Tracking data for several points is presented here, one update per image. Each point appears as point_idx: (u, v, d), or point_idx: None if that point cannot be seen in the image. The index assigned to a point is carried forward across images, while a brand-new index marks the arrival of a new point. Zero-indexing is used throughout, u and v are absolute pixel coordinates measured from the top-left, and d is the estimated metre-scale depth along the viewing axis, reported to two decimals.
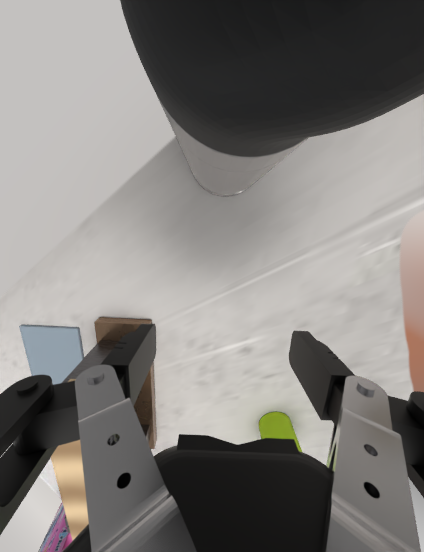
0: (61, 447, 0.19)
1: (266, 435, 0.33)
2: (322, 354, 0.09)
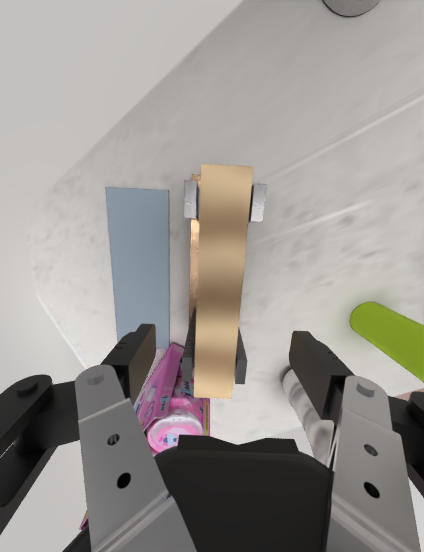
0: (214, 221, 0.16)
1: (369, 318, 0.30)
2: (322, 354, 0.09)
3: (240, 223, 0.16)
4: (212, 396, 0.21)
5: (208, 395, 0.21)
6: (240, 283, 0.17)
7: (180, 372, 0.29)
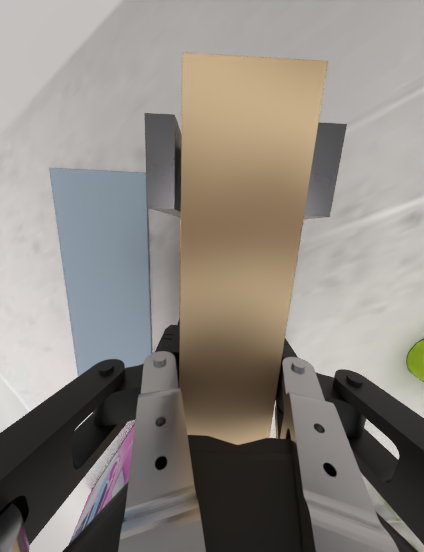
0: (219, 216, 0.06)
1: None
2: None
3: (283, 221, 0.06)
4: None
5: None
6: (277, 357, 0.08)
7: None
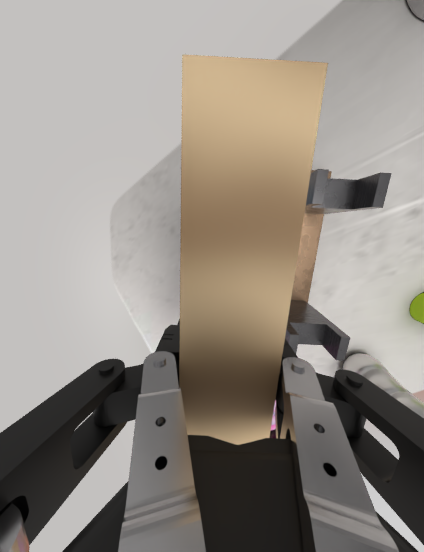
0: (219, 217, 0.06)
1: None
2: None
3: (283, 222, 0.06)
4: None
5: None
6: (277, 358, 0.08)
7: None
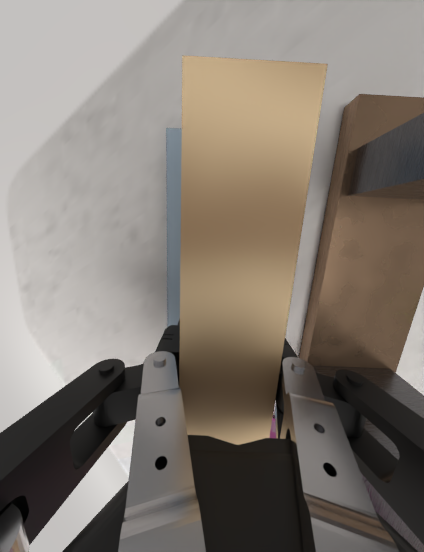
0: (219, 218, 0.06)
1: None
2: None
3: (283, 223, 0.06)
4: None
5: None
6: (277, 358, 0.08)
7: None
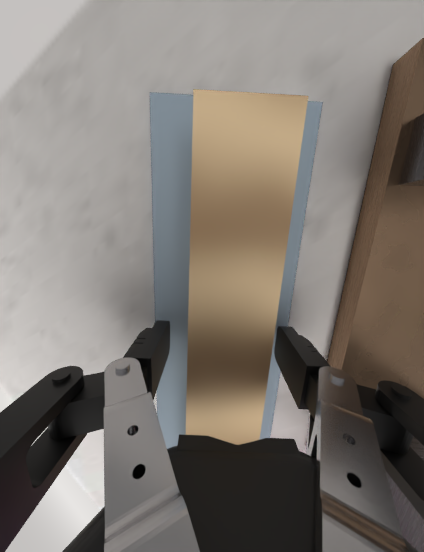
0: (222, 218, 0.08)
1: None
2: (301, 347, 0.09)
3: (274, 222, 0.08)
4: None
5: None
6: (270, 336, 0.09)
7: None
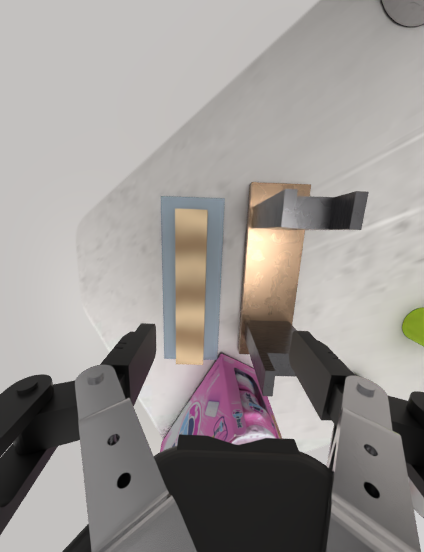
0: (185, 243, 0.25)
1: None
2: (322, 354, 0.09)
3: (201, 244, 0.25)
4: (189, 363, 0.29)
5: (186, 362, 0.29)
6: (204, 282, 0.27)
7: (238, 384, 0.28)
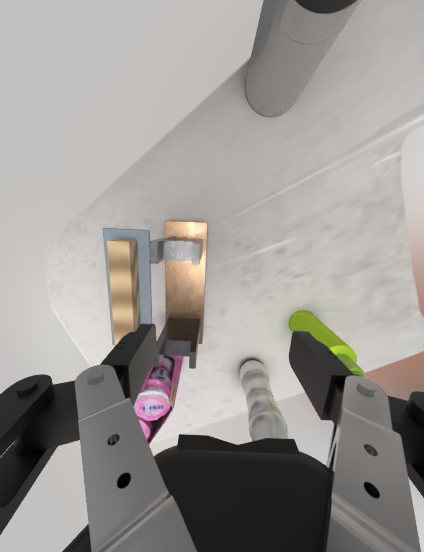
0: (115, 264, 0.37)
1: (297, 323, 0.41)
2: (322, 354, 0.09)
3: (126, 264, 0.37)
4: None
5: None
6: (130, 291, 0.38)
7: None
